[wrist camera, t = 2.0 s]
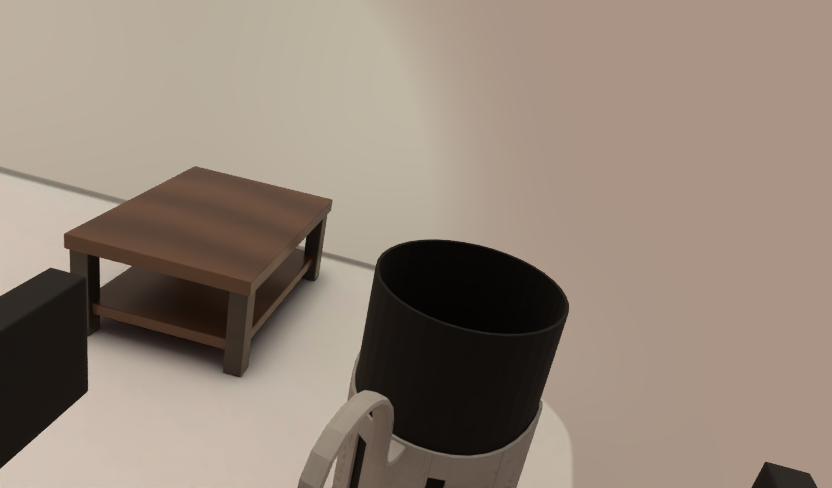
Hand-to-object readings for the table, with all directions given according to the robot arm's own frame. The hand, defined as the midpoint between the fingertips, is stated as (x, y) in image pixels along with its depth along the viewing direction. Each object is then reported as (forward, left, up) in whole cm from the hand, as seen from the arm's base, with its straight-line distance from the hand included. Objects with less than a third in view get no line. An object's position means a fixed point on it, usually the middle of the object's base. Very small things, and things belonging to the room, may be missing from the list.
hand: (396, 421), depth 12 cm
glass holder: (+8, -6, -18) cm, 20 cm away
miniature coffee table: (+34, -4, -18) cm, 39 cm away
